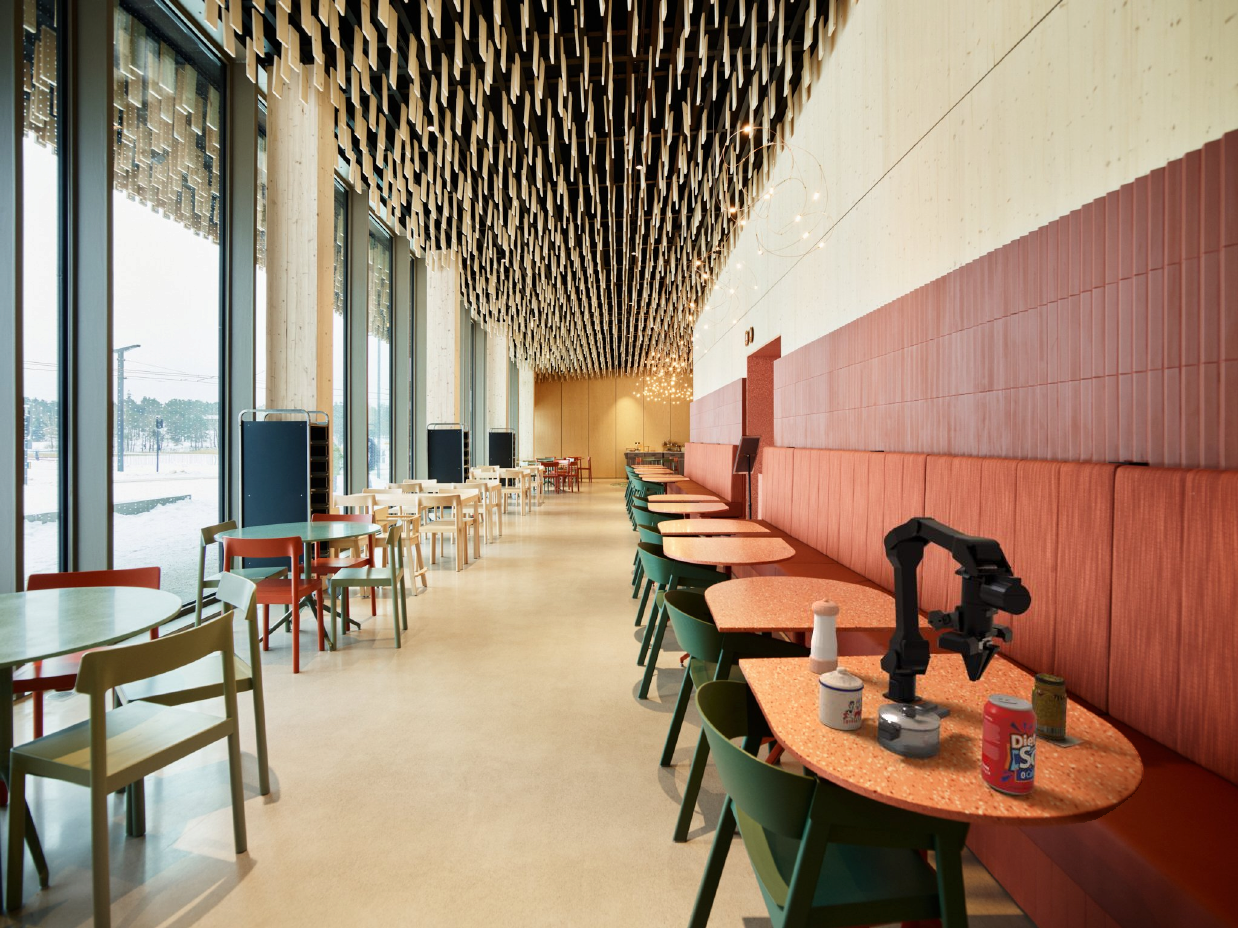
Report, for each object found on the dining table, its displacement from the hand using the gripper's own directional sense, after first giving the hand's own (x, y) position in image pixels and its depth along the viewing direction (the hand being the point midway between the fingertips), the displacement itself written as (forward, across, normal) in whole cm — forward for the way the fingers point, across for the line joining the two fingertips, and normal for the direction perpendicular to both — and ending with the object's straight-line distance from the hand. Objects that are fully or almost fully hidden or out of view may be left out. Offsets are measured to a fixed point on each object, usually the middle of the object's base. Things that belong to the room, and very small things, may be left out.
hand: (974, 680), depth 123 cm
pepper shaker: (+13, -11, -43) cm, 46 cm away
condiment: (+13, -19, +7) cm, 24 cm away
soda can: (+13, +11, +11) cm, 20 cm away
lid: (+8, +10, -7) cm, 14 cm away
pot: (+13, +8, -7) cm, 17 cm away
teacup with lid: (+13, +12, -21) cm, 28 cm away
